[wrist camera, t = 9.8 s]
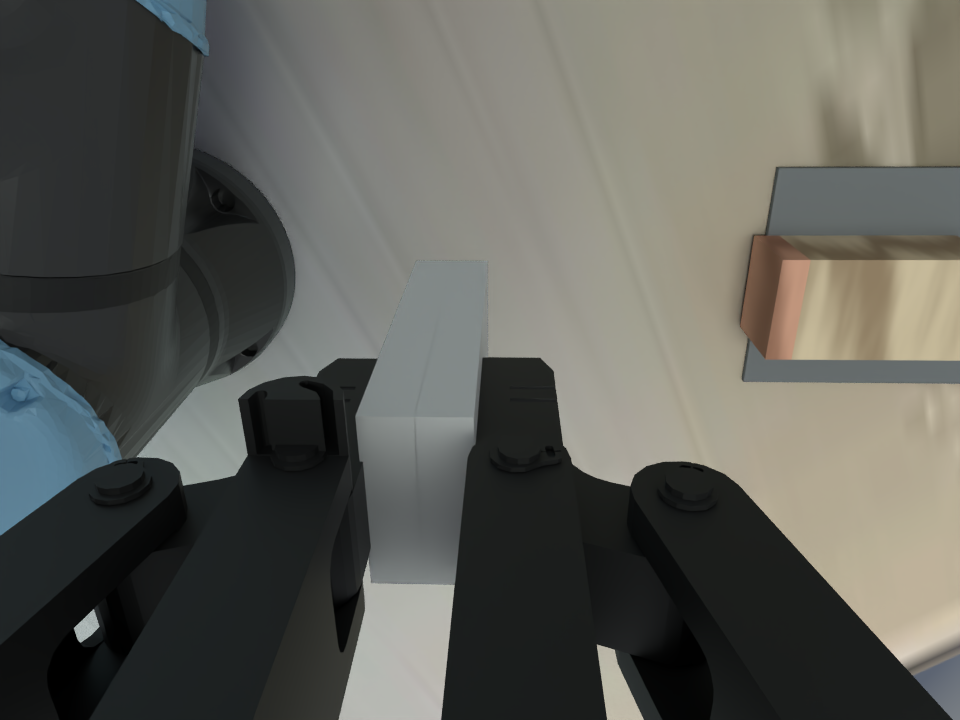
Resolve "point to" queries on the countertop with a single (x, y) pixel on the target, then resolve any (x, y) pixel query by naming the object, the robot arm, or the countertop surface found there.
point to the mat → (860, 211)
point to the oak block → (854, 297)
